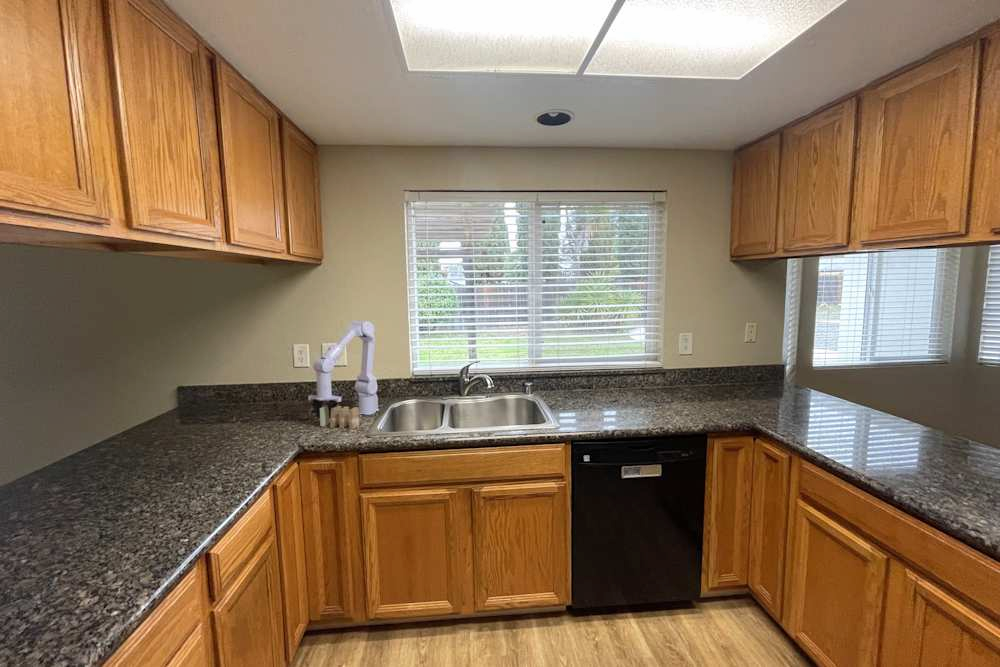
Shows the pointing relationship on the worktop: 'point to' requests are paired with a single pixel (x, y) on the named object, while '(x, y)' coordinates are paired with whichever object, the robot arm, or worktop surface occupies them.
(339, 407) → the domino
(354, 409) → the domino
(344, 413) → the domino
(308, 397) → the robot arm
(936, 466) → the worktop surface
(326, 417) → the domino
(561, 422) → the worktop surface
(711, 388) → the worktop surface
